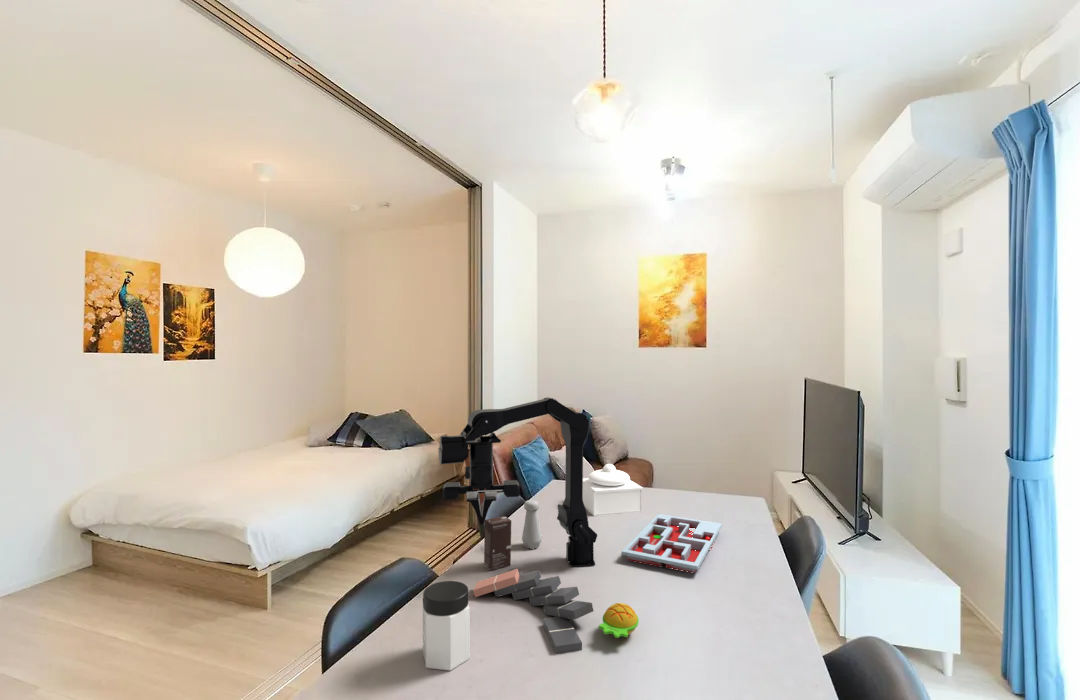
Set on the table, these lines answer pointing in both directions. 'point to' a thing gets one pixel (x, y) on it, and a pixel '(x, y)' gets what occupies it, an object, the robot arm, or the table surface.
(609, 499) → the butter dish
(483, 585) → the domino
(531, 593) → the domino
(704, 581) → the table surface
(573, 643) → the domino
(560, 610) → the domino
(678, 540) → the maze game
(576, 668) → the table surface
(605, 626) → the toy burger bun
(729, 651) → the table surface
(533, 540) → the salt shaker
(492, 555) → the box
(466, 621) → the jar
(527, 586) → the domino
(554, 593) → the domino
